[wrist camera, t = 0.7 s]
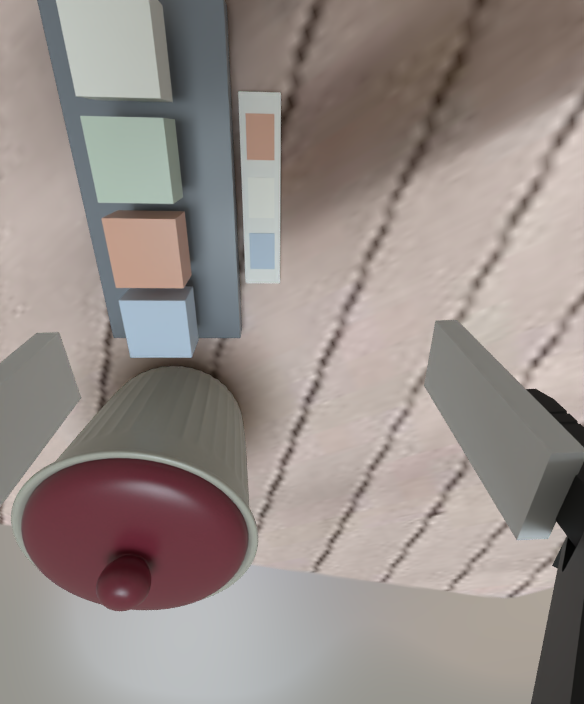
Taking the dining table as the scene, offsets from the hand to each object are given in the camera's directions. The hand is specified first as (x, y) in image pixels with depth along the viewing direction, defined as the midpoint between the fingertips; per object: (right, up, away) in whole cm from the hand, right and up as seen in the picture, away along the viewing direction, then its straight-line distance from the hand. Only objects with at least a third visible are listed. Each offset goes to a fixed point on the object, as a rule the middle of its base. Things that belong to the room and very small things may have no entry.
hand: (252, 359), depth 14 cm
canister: (-11, -6, +30) cm, 33 cm away
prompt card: (-1, +14, +19) cm, 24 cm away
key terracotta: (-9, +9, +17) cm, 21 cm away
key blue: (-9, +4, +20) cm, 22 cm away
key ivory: (-9, +19, +11) cm, 24 cm away
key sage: (-9, +14, +14) cm, 22 cm away
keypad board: (-9, +14, +19) cm, 25 cm away
